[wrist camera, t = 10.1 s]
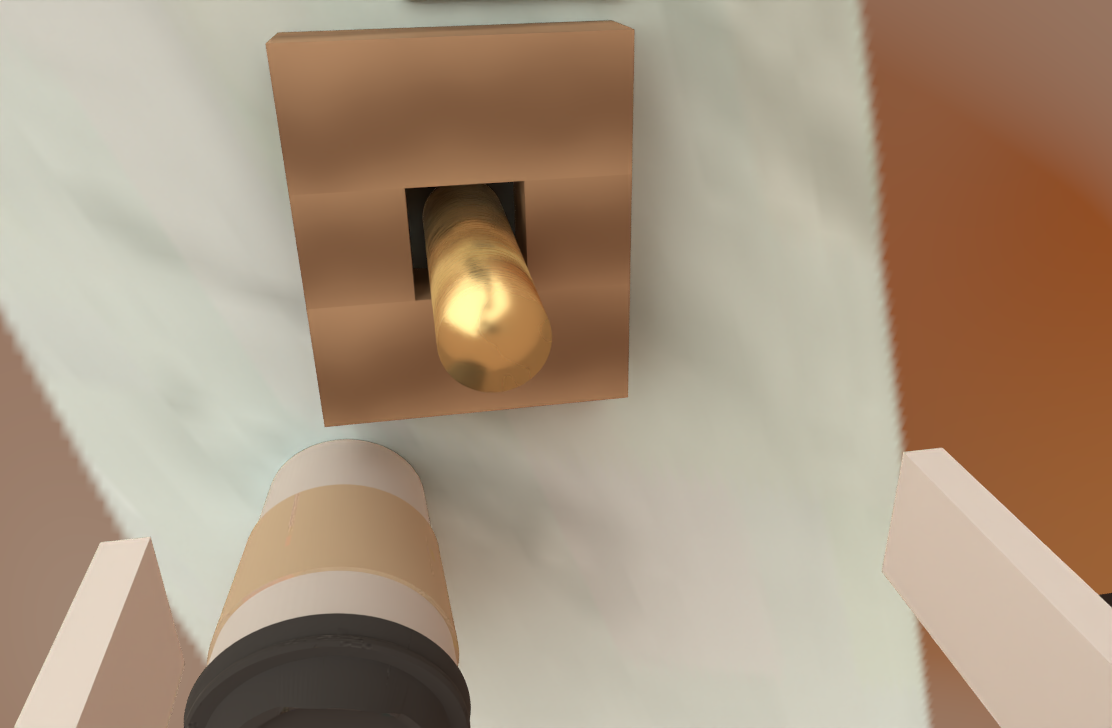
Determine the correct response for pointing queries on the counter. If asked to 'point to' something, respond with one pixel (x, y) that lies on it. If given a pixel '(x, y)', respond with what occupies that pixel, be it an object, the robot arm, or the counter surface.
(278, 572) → the coffee cup
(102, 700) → the robot arm
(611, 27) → the hole block
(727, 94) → the counter surface
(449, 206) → the peg
